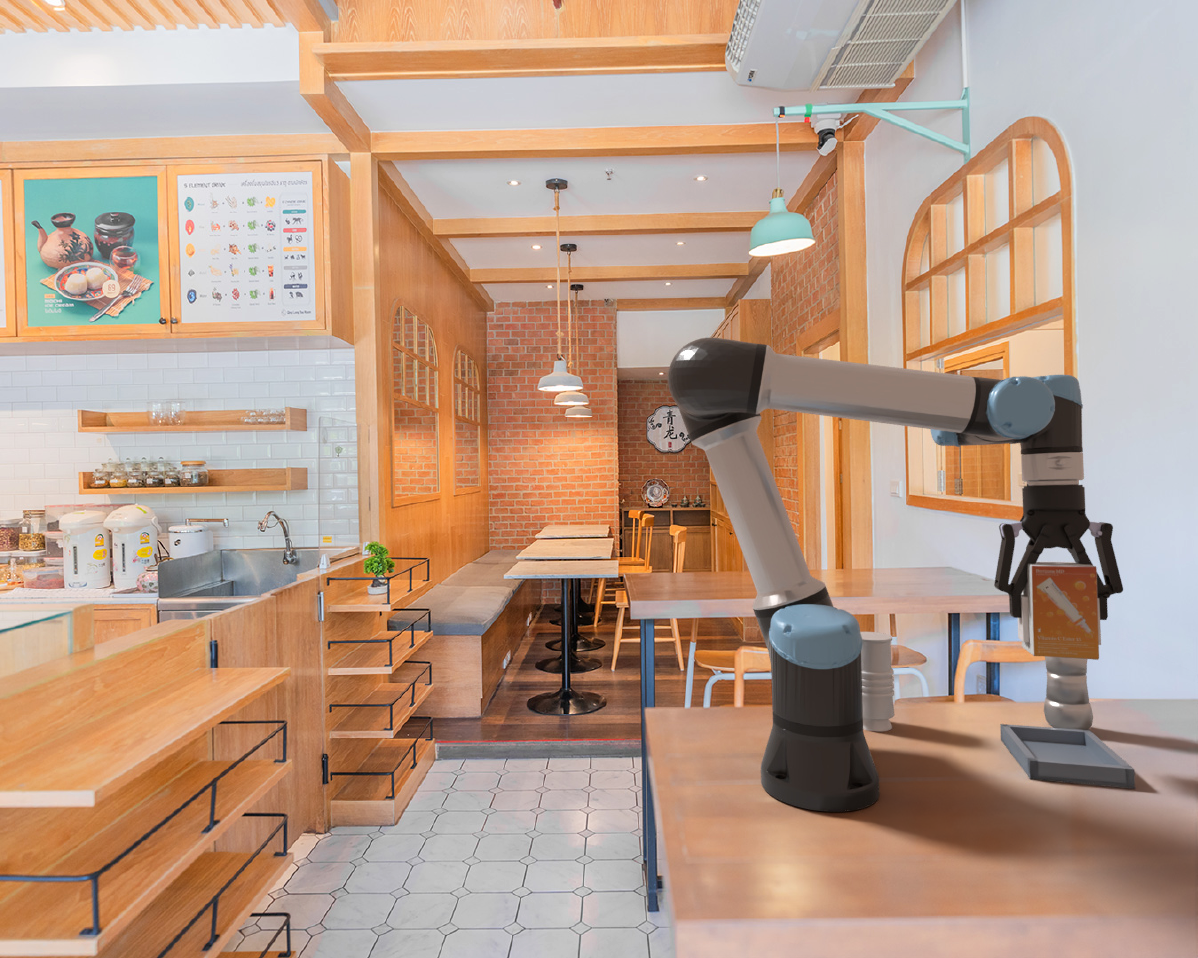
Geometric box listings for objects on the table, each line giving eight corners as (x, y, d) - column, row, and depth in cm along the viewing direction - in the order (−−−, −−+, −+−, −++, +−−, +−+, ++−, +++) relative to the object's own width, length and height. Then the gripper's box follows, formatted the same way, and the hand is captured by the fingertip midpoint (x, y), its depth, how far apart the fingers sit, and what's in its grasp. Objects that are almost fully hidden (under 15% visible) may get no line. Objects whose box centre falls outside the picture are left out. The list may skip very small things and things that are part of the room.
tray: (1030, 779, 93) (1029, 760, 93) (1000, 739, 107) (1000, 723, 107) (1135, 788, 89) (1134, 769, 89) (1090, 746, 104) (1089, 730, 104)
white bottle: (842, 720, 118) (840, 633, 118) (878, 716, 119) (875, 630, 119) (867, 734, 111) (864, 641, 111) (904, 729, 113) (901, 638, 113)
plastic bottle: (1103, 736, 108) (1099, 609, 108) (1060, 737, 108) (1056, 610, 108) (1075, 722, 114) (1071, 602, 114) (1035, 723, 114) (1031, 603, 115)
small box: (1033, 657, 96) (1030, 565, 97) (1021, 647, 102) (1017, 560, 103) (1101, 660, 94) (1097, 565, 94) (1084, 649, 100) (1080, 560, 100)
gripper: (977, 485, 98) (983, 644, 98) (1151, 481, 92) (1158, 650, 92) (966, 485, 105) (971, 633, 105) (1126, 481, 99) (1133, 638, 99)
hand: (1058, 641), depth 98 cm, fingers closed on small box, 8 cm apart
